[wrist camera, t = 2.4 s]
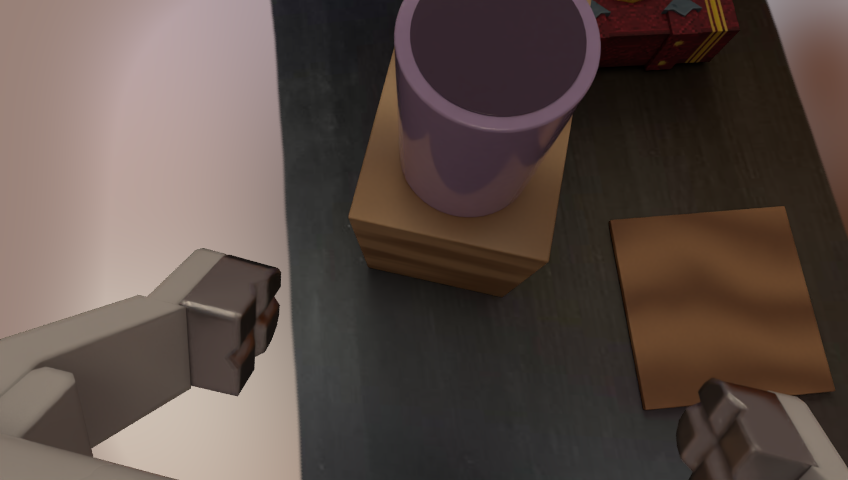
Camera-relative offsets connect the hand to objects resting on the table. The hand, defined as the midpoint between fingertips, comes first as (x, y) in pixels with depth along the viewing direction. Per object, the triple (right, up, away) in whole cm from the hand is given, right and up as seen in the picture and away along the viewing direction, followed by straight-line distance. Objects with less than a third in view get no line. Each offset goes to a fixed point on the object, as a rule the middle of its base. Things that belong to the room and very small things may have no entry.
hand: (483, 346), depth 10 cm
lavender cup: (+1, +6, +15) cm, 16 cm away
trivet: (+19, -2, +26) cm, 32 cm away
